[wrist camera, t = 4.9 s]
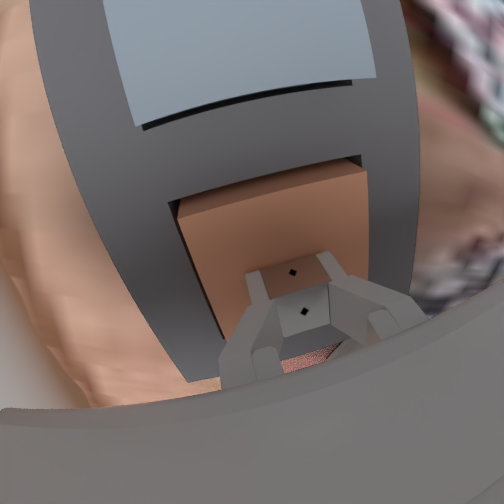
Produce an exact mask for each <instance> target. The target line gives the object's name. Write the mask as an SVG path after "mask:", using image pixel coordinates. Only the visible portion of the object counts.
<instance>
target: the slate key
mask: <svg viewBox="0 0 504 504" xmlns="http://www.w3.org/2000/svg"><path fill="white" fill-rule="evenodd" d="M103 4H104V9H105V14H106V19H107V23H108V28H109V32H110V36H111V40H112V45H113V49H114V53H115V57H116V61H117V64H118V68H119V72H120V76H121V79H122V83H123V86H124V90H125V94H126V97H127V100H128V104H129V107H130V111H131V114H132V117H133V120H134V124H135V127H136V126H139V125H142V124H144V123H147V122H150V121H153V120H156V119H159V118H162V117H165V116H168V115H171V114H174V113H177V112H180V111H184V110H187V109H190V108H194V107H197V106H201V105H204V104H208V103H212V102H216V101H220V100H224V99H228V98H232V97H236V96H241V95H245V94H250V93H255V92H260V91H265V90H271V89H276V88H282V87H288V86H295V85H302V84H309V83H317V82H326V81H336V80H348V79H363V78H377V77H376V70H375V64H374V59H373V53H372V48H371V43H370V38H369V34H368V29H367V25H366V21H365V16H364V12H363V8H362V5H361V1H360V0H103Z"/></svg>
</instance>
